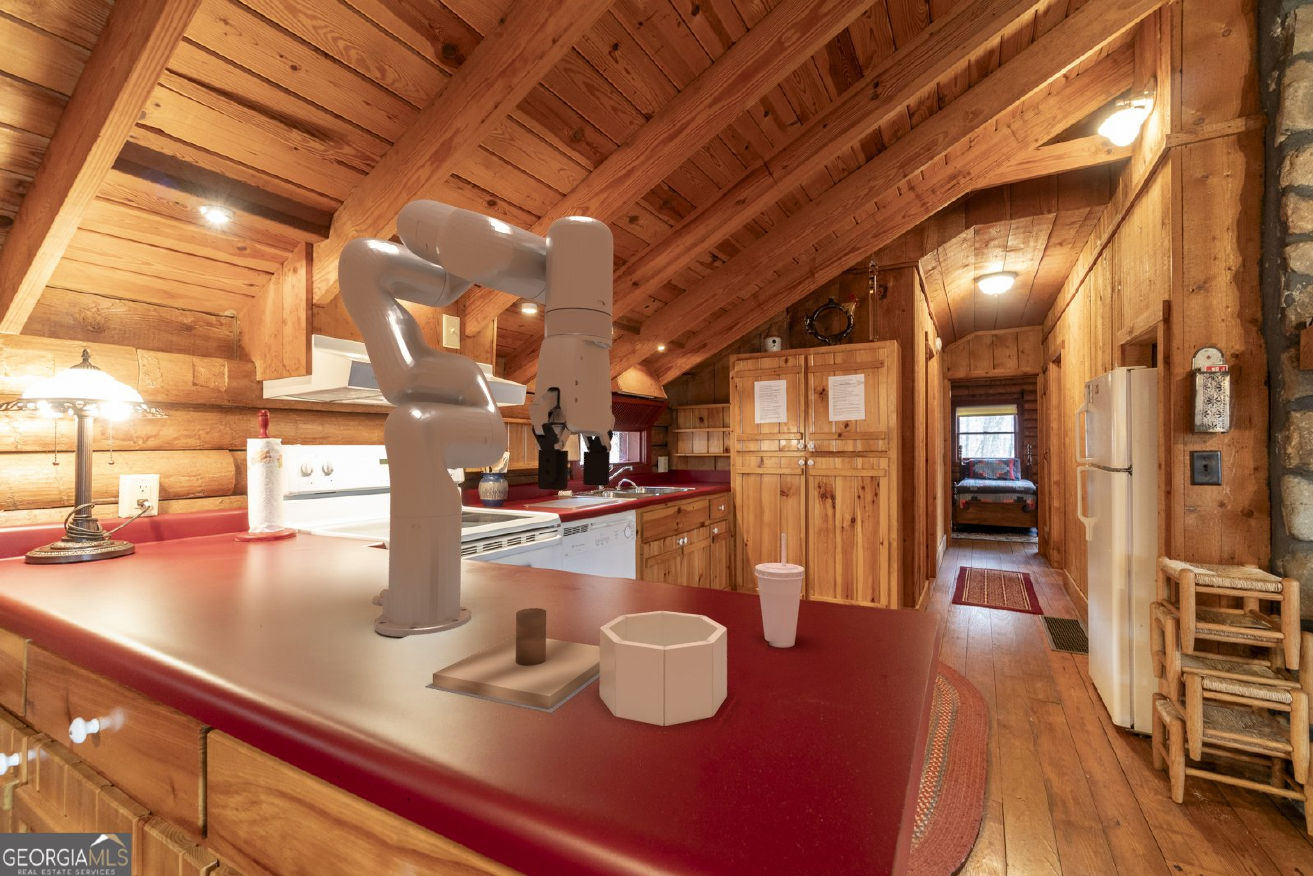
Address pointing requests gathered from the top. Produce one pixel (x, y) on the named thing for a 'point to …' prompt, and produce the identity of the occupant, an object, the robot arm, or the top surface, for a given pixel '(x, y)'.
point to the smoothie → (780, 599)
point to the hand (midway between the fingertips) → (576, 487)
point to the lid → (524, 666)
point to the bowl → (663, 667)
